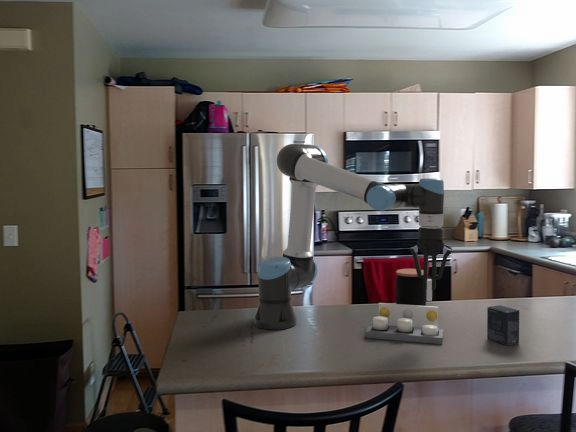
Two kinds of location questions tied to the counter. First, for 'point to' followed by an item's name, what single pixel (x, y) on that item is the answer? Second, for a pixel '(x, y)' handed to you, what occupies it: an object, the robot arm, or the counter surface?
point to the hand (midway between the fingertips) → (429, 299)
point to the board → (404, 335)
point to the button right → (430, 330)
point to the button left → (380, 323)
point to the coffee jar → (409, 288)
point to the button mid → (404, 324)
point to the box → (503, 325)
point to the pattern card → (409, 314)
